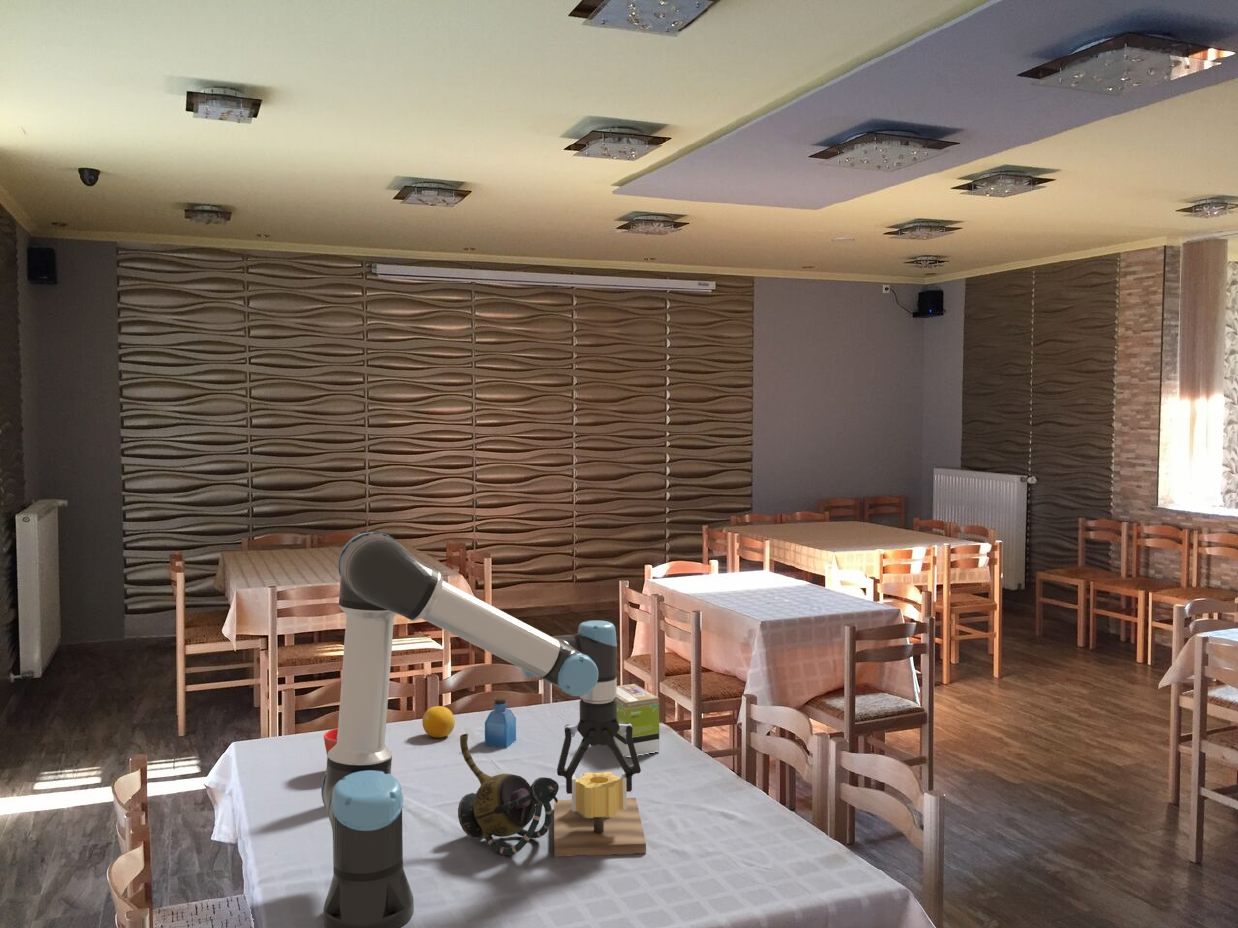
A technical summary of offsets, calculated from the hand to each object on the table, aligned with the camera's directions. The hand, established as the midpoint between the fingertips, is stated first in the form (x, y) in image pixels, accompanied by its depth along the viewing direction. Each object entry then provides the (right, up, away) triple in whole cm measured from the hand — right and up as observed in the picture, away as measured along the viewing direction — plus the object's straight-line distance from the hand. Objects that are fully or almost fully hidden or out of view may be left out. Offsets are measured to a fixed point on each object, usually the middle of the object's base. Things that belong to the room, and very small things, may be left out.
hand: (599, 807), depth 203 cm
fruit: (-45, -4, +68) cm, 81 cm away
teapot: (-27, 0, +4) cm, 28 cm away
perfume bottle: (-27, -4, +62) cm, 68 cm away
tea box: (+7, -4, +58) cm, 59 cm away
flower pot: (-62, -5, +41) cm, 74 cm away
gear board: (0, -7, +6) cm, 9 cm away
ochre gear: (0, 0, 0) cm, 0 cm away
